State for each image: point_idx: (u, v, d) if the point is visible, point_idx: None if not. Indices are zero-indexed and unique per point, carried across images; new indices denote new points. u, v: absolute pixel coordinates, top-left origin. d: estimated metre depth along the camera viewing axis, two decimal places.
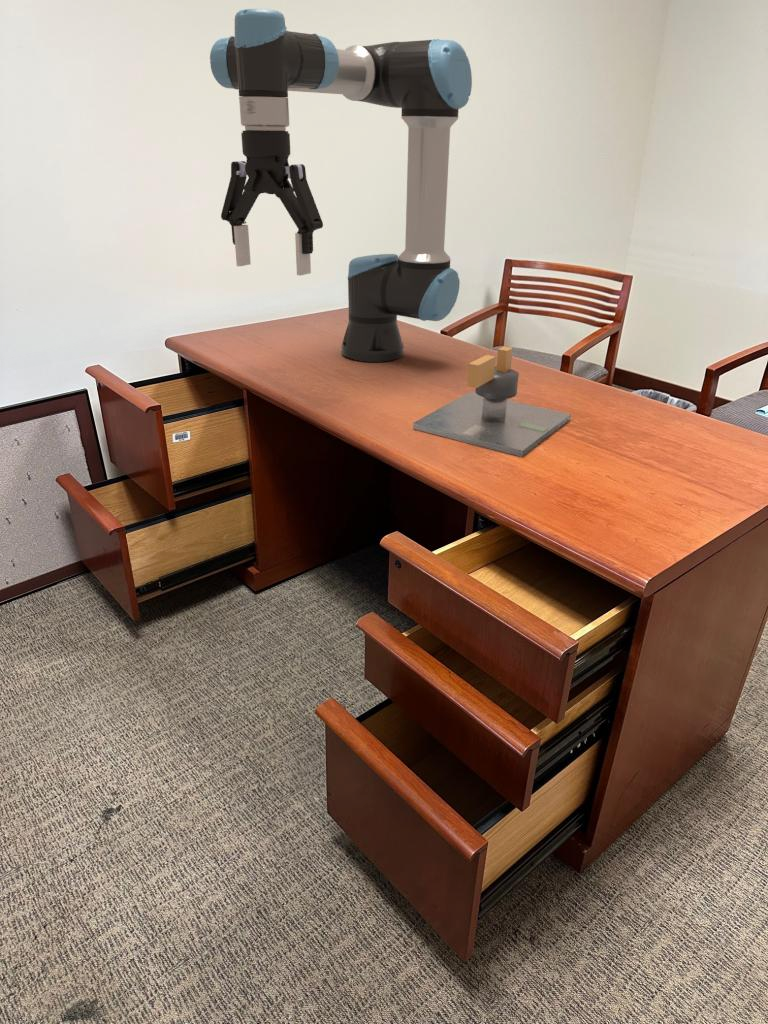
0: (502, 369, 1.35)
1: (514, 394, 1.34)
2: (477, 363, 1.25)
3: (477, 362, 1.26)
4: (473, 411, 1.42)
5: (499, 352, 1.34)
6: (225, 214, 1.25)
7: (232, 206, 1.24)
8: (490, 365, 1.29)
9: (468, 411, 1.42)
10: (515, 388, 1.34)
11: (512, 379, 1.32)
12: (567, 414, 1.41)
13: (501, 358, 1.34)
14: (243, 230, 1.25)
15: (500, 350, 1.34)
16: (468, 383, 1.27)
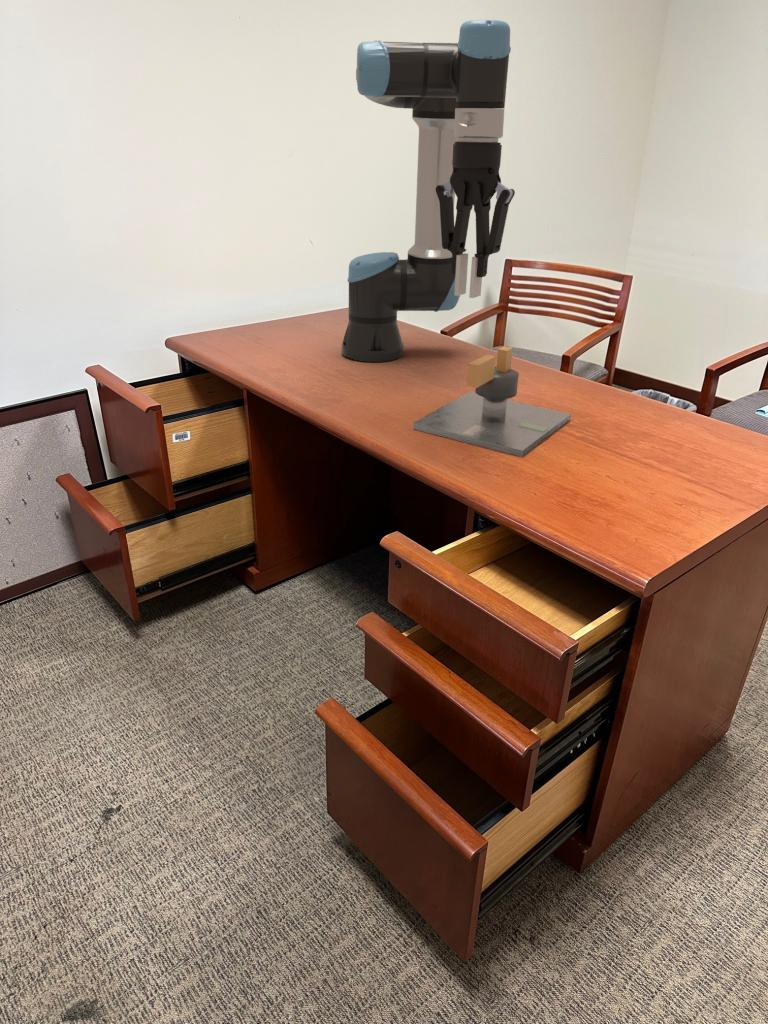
0: (502, 369, 1.35)
1: (514, 394, 1.34)
2: (477, 363, 1.25)
3: (477, 362, 1.26)
4: (473, 411, 1.42)
5: (499, 352, 1.34)
6: (446, 241, 1.22)
7: (449, 231, 1.22)
8: (490, 365, 1.29)
9: (468, 411, 1.42)
10: (515, 388, 1.34)
11: (512, 379, 1.32)
12: (567, 414, 1.41)
13: (501, 358, 1.34)
14: (464, 259, 1.23)
15: (500, 350, 1.34)
16: (468, 383, 1.27)
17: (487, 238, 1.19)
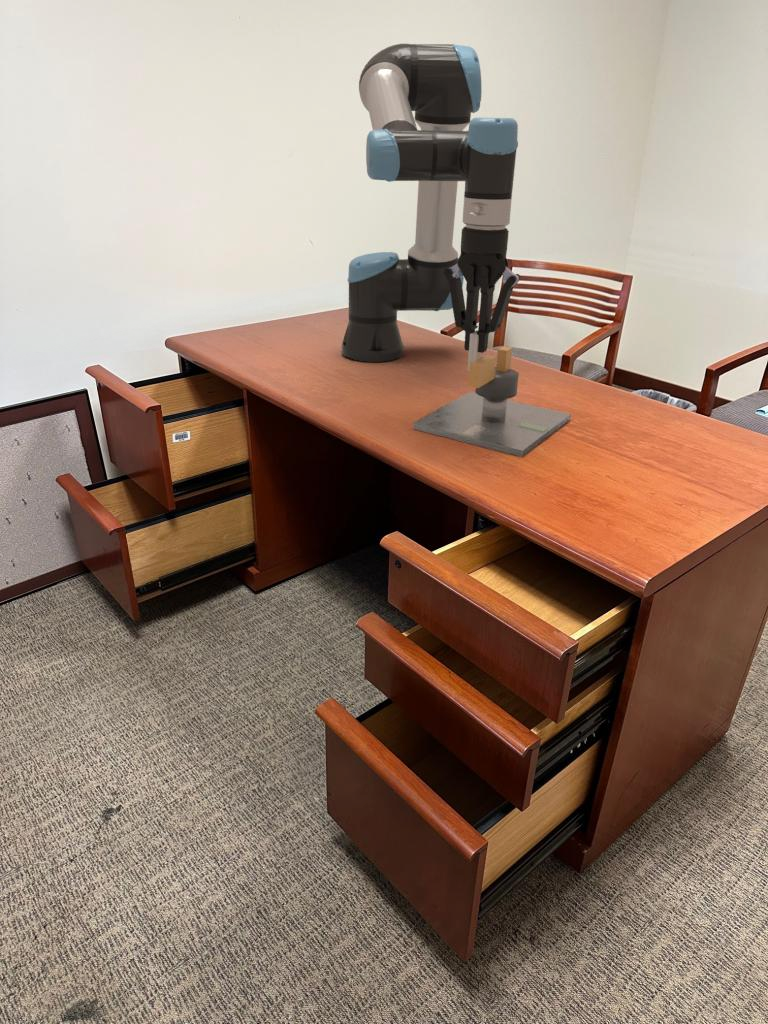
0: (502, 369, 1.35)
1: (514, 394, 1.34)
2: (479, 364, 1.25)
3: (478, 362, 1.26)
4: (473, 411, 1.42)
5: (499, 352, 1.34)
6: (459, 320, 1.25)
7: (461, 309, 1.25)
8: (491, 365, 1.29)
9: (468, 411, 1.42)
10: (515, 388, 1.34)
11: (513, 378, 1.32)
12: (567, 414, 1.41)
13: (501, 358, 1.34)
14: None
15: (500, 350, 1.34)
16: (469, 383, 1.27)
17: (489, 317, 1.24)
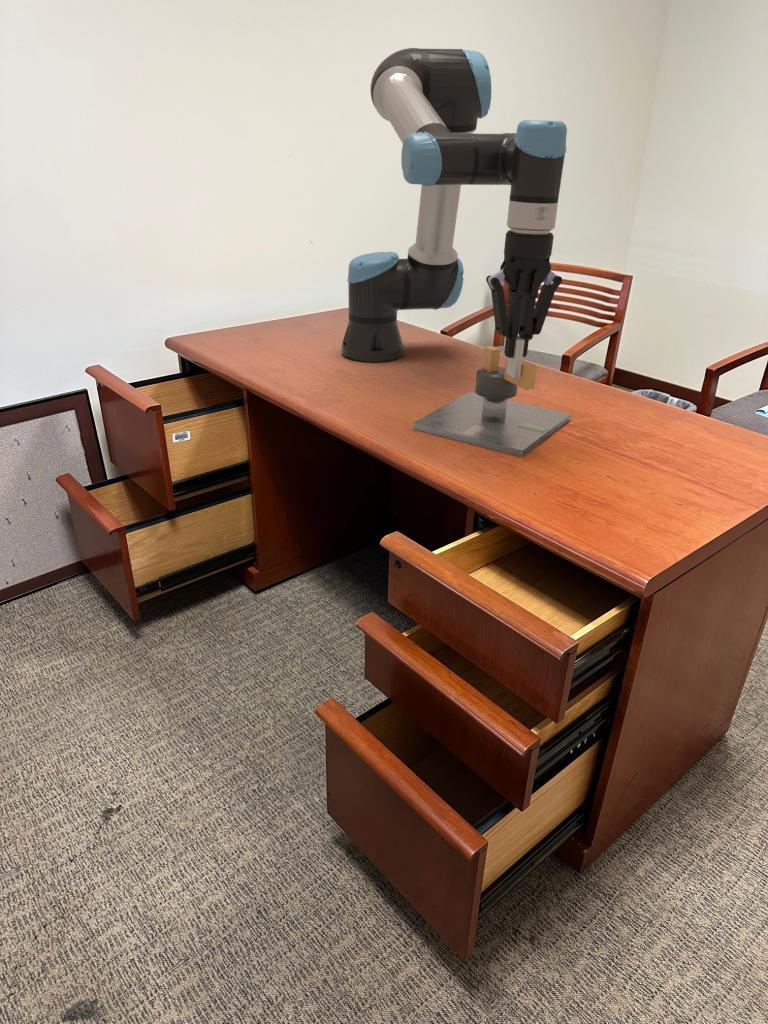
0: (495, 368, 1.35)
1: None
2: (532, 365, 1.25)
3: (527, 364, 1.26)
4: (473, 411, 1.42)
5: (492, 352, 1.33)
6: (506, 328, 1.21)
7: None
8: None
9: (468, 411, 1.42)
10: None
11: None
12: (567, 414, 1.41)
13: (494, 358, 1.34)
14: None
15: (493, 350, 1.33)
16: (527, 386, 1.26)
17: None
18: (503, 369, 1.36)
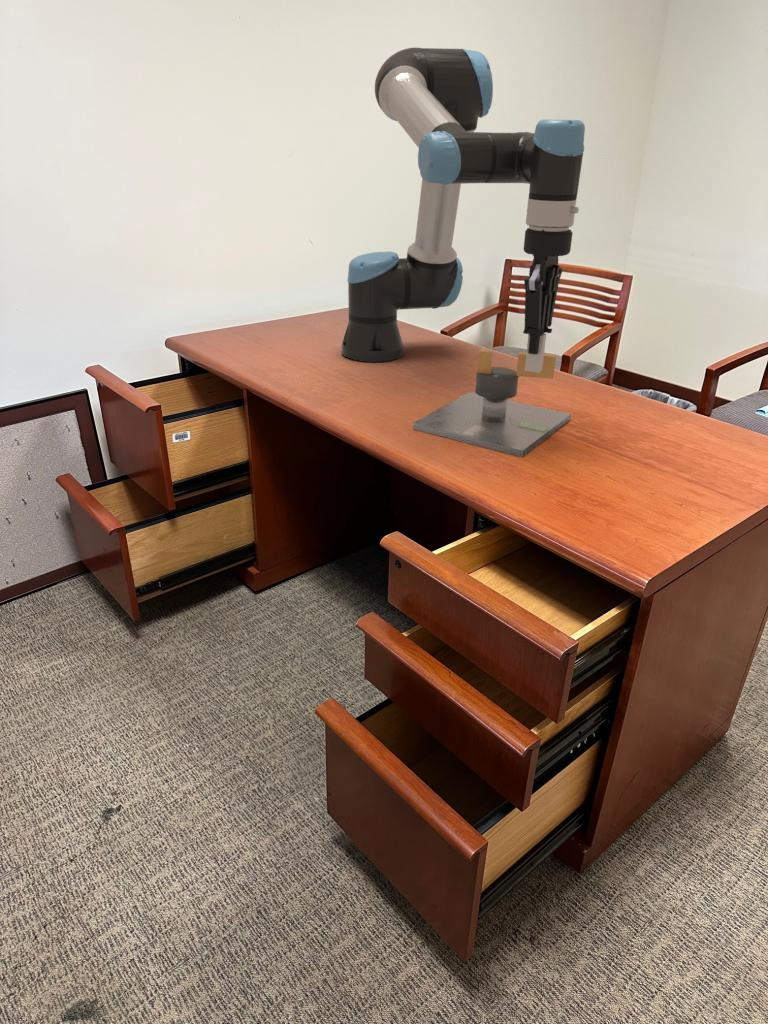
0: (491, 369, 1.35)
1: None
2: (552, 354, 1.31)
3: (547, 354, 1.31)
4: (473, 411, 1.42)
5: (492, 354, 1.32)
6: (540, 326, 1.22)
7: None
8: None
9: (468, 411, 1.42)
10: None
11: (505, 368, 1.37)
12: (567, 414, 1.41)
13: None
14: None
15: None
16: (553, 375, 1.32)
17: None
18: None
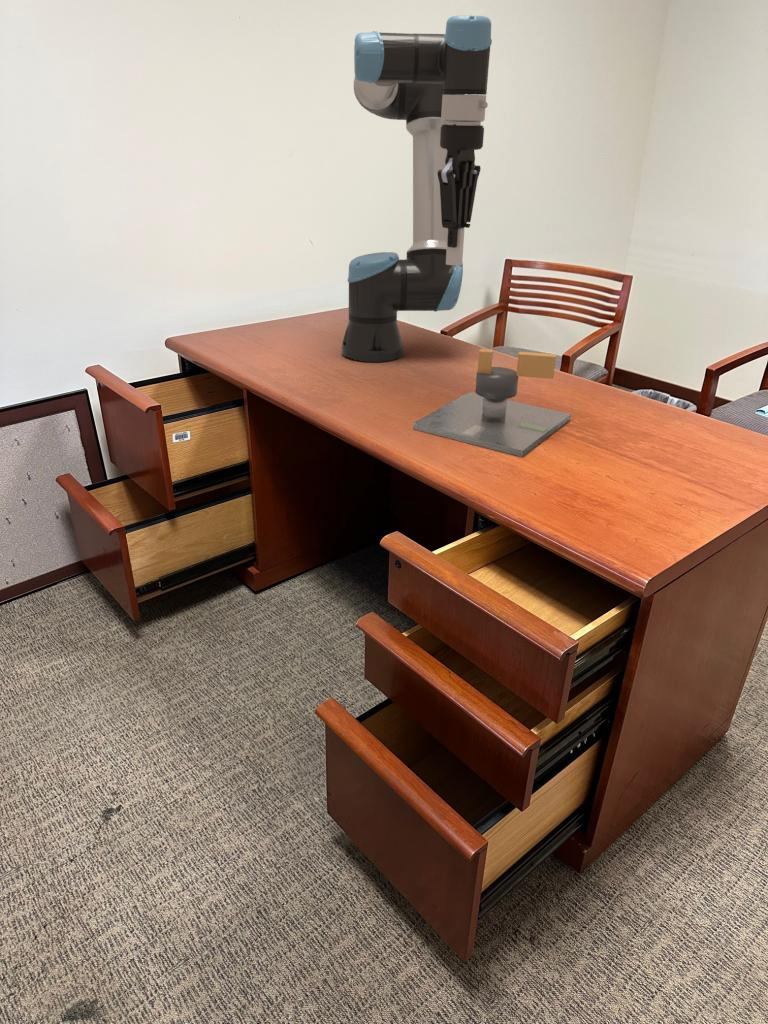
0: (491, 369, 1.35)
1: None
2: (552, 354, 1.31)
3: (547, 354, 1.31)
4: (473, 411, 1.42)
5: (492, 354, 1.32)
6: (455, 219, 1.32)
7: None
8: None
9: (468, 411, 1.42)
10: None
11: (505, 368, 1.37)
12: (567, 414, 1.41)
13: None
14: None
15: None
16: (553, 375, 1.32)
17: None
18: None
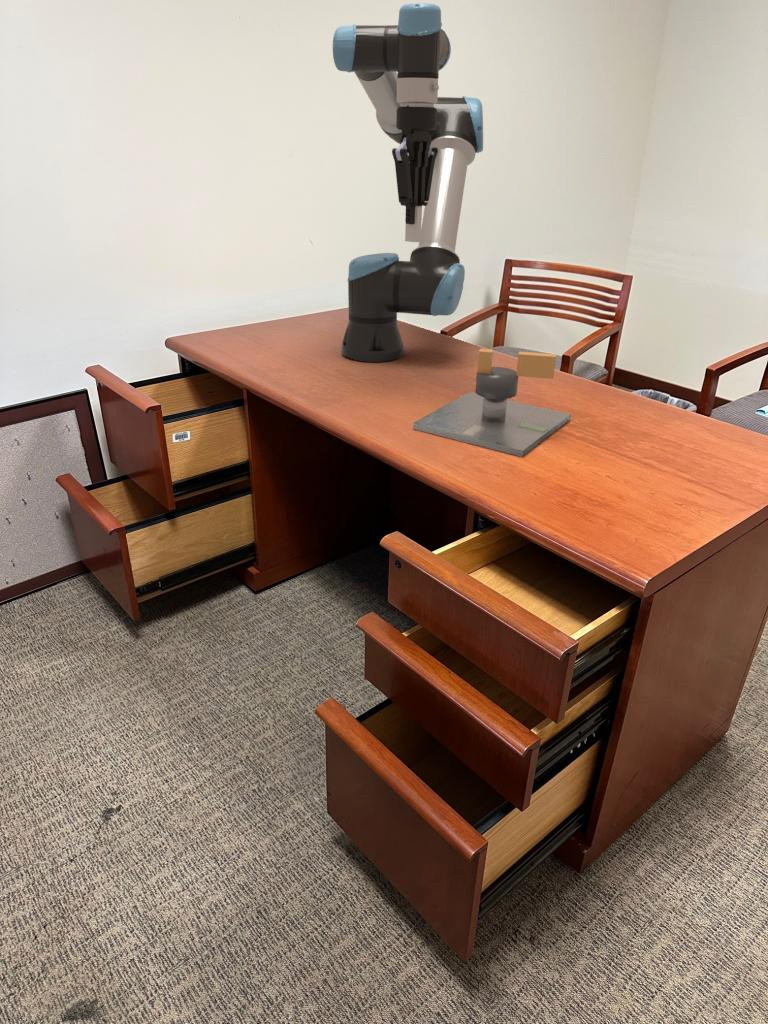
0: (491, 369, 1.35)
1: None
2: (552, 354, 1.31)
3: (547, 354, 1.31)
4: (473, 411, 1.42)
5: (492, 354, 1.32)
6: (411, 196, 1.39)
7: None
8: None
9: (468, 411, 1.42)
10: None
11: (505, 368, 1.37)
12: (567, 414, 1.41)
13: None
14: None
15: None
16: (553, 375, 1.32)
17: None
18: None
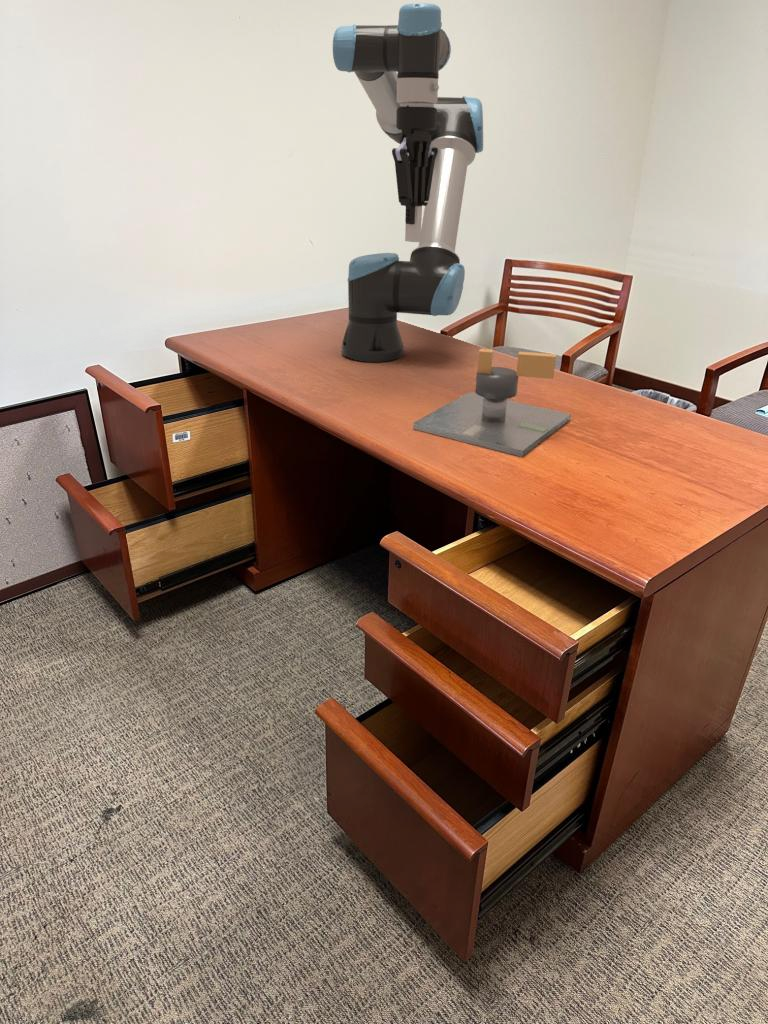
0: (491, 369, 1.35)
1: None
2: (552, 354, 1.31)
3: (547, 354, 1.31)
4: (473, 411, 1.42)
5: (492, 354, 1.32)
6: (411, 196, 1.39)
7: None
8: None
9: (468, 411, 1.42)
10: None
11: (505, 368, 1.37)
12: (567, 414, 1.41)
13: None
14: None
15: None
16: (553, 375, 1.32)
17: None
18: None
